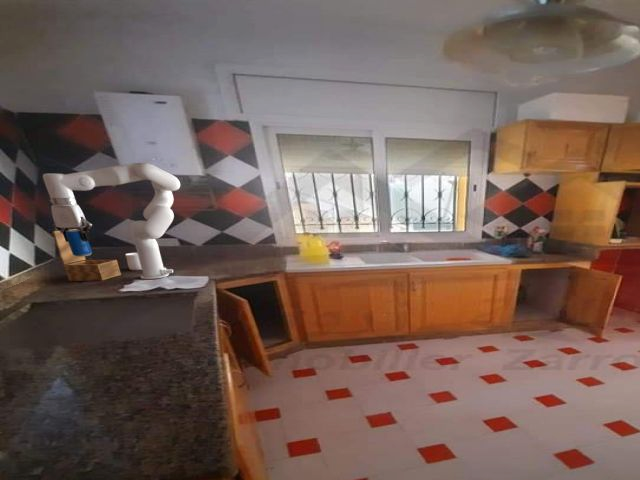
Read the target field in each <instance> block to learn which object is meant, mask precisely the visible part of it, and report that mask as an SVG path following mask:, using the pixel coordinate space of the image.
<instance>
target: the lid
mask: <svg viewBox="0 0 640 480" xmlns="http://www.w3.org/2000/svg"><path fill="white" fill-rule="evenodd" d="M69 230H78V228H69ZM51 236H53V238H54V241H55V245H56V247H57V251H58V254H59V258H60V261H61V264H62V265H67V264H71V263H76V262H80V261H85V260H87V259H86V256H80V257H77V256H75V255H73V253H72V251H71V248H70V245H69V243H68V242H66V241H65V238H64V235H63V233H61V232H60V231H59V230H53V231H52V233H51Z"/></svg>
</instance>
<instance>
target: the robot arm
mask: <svg viewBox="0 0 640 480" xmlns="http://www.w3.org/2000/svg"><path fill="white" fill-rule="evenodd" d="M42 179H43V182H44V184H45V187H46V190H47V192H48V195H49V198H50V199H49V202H50V203H52V205H50V208H51V215H52V218H53V223H52V227H54V228H55V229H56V231H60V232H61V233H63V235H64V238H65V241H66V242H68V240H67V237H66V234H65V233H66V231H69V230H70V229H77V230H80V231H81V233H80V235H81V238H82V240H83V241H84V242H85V241H88V242H90V241H91V238H90V235H89V233H90V230H91V228H92V226H93V223H91V222H89V220H87V219H86V217H85V214H84V212H83V210H82V209H81V207H80V205H79V204H78V203H77V200H76V197H75V195H74V192H73V191H81V192H83V191H84V192H85V191H91V190H93V189H94V188H96V187H102V186H103V187H104V186H120V185H124V184H130V183H135V182H139V181H147V180H148V181H151V182H150V183H151V185H152V187H153V190H154V196H153V198H152V199H151V201H150V202H149V203H148V205H147V206H146V207H145V208H144V210H143V213H142V216H143V217H144V219H145V220H134V221H132V222H131V223H130V224H129V227H128V231H129V234H130V236H131V238H132V241H133V243H134V246H135V249H136V253H138V257H139V260H140V264H141V267H142V270H141V271H142V275H140V279H141V280H155V279H162V278H166V277H168V276H169V275H170V274H173V273H174V269H172V268H170V269H169V268H167V267H166V266H164V263H163V260H162V255H161V252H160V247H159V244H158V241H157V239H160V238H161V237H163V235H164V234H165V233H166V231H167V230H168V229H169V227H170V226H171V224H172V223H173V221H174V218H175V215H174V212H173V210H172V209H171V208H172V206H173V204H174V194H173V192H174V191H178V190H179V189H180V187H181V182H180V180H179V178H178V177H177V176H175V175H173V174H171V173H169V172H168V171H165V170H164V169H162V168H160V167H158V166H155V165H153V164H152V163H149V162H133V163H126V164H120V165H113V166H107V167H102V168H97V169H92V170H85V171H84V170H83V171H79V172H72V173H66V174H65V173H52V172H51V173H49V172H48V173H43V174H42Z"/></svg>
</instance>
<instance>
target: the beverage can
mask: <svg viewBox="0 0 640 480" xmlns="http://www.w3.org/2000/svg"><path fill="white" fill-rule="evenodd" d="M80 233H81V231H80V230H79V229H77V230H70V229H69V231H66V233H65V234H66V237H67V240H68V243H69V245H70V248H71V251H72V253H73V255H75V256H77V257H80V256H85V257H88V256H91V255H92V254H93V251H92V249H91V245H90V241H85V242H84V241H83V240H82V238H81V235H80Z"/></svg>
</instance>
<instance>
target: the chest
mask: <svg viewBox="0 0 640 480" xmlns="http://www.w3.org/2000/svg"><path fill="white" fill-rule="evenodd" d="M119 266H120V265H119V264H118V260H117V259H88V260H87V259H86V260H81V261H77V262H72V263H68V264H63V268H64V270H65V273H66V275H67V276H66V277H67V279H68V281H69V282H76V281H77V282H81V281H82V282H84V281H85V282H86V281H87V282H89V281H91V282H92V281H105V280H109V279H111V278H115V277H119V276H121V275H122V273H121V270H120V267H119Z"/></svg>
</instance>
